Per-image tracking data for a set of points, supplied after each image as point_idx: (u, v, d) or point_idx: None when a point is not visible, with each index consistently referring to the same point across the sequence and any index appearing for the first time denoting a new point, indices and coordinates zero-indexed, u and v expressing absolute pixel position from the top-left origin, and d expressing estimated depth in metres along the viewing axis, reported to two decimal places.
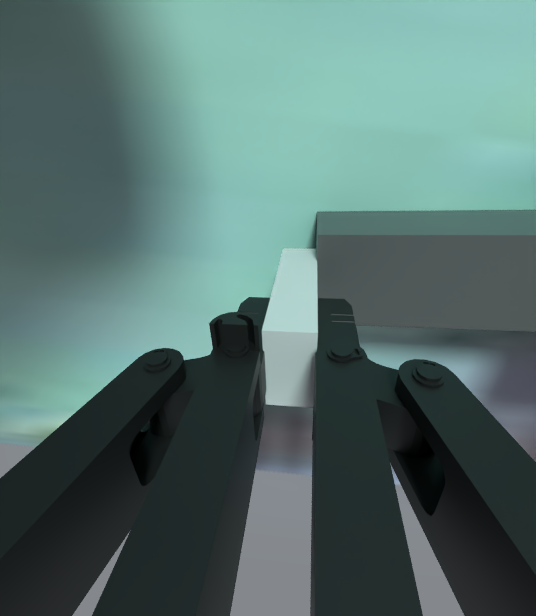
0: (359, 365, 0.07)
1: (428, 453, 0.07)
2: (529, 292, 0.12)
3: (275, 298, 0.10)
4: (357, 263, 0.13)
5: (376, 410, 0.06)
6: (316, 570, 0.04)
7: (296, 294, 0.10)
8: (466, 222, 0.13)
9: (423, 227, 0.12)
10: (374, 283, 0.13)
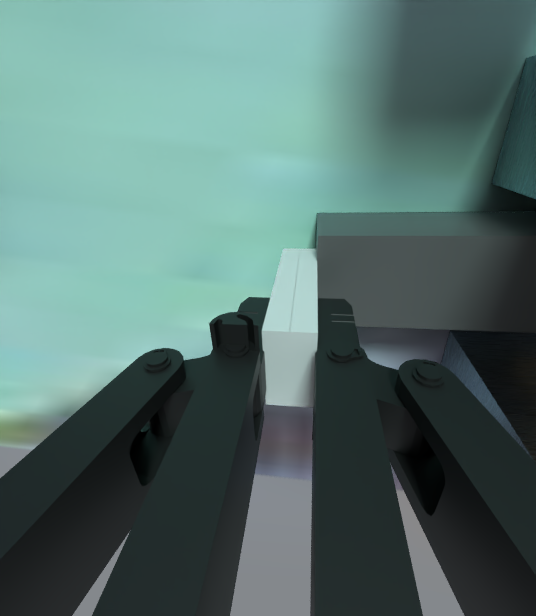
0: (359, 365, 0.07)
1: (428, 453, 0.07)
2: (529, 293, 0.12)
3: (275, 298, 0.10)
4: (357, 264, 0.13)
5: (376, 410, 0.06)
6: (316, 570, 0.04)
7: (296, 294, 0.10)
8: (466, 223, 0.13)
9: (423, 228, 0.12)
10: (374, 284, 0.13)
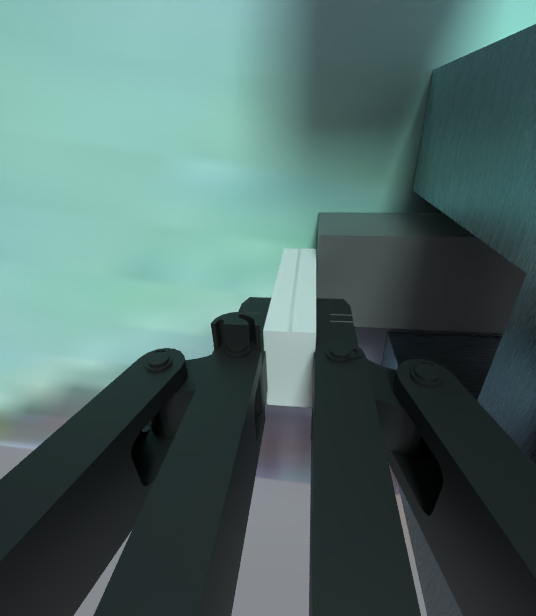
0: (358, 365, 0.07)
1: (426, 453, 0.07)
2: None
3: (276, 298, 0.10)
4: (358, 264, 0.12)
5: (374, 410, 0.06)
6: (315, 570, 0.04)
7: (295, 294, 0.10)
8: None
9: (425, 228, 0.12)
10: (375, 285, 0.13)
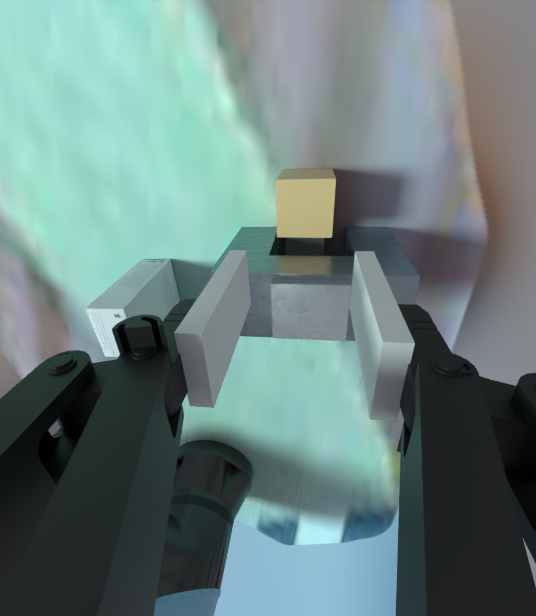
0: (470, 382, 0.07)
1: None
2: (306, 254, 0.34)
3: (201, 300, 0.10)
4: None
5: (492, 434, 0.06)
6: (428, 587, 0.04)
7: (373, 300, 0.10)
8: None
9: None
10: None
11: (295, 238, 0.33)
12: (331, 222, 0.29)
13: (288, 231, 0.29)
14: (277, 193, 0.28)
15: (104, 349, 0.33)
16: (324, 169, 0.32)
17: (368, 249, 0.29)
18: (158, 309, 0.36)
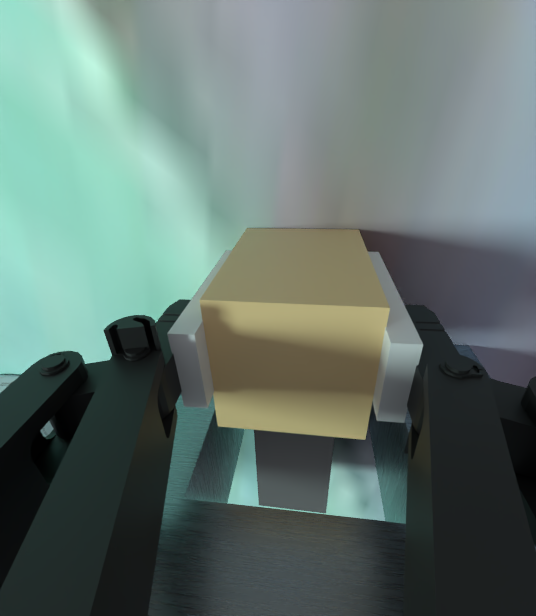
0: (479, 384, 0.07)
1: None
2: None
3: (195, 301, 0.10)
4: (277, 491, 0.19)
5: (502, 437, 0.06)
6: (437, 590, 0.04)
7: None
8: None
9: None
10: (292, 486, 0.18)
11: None
12: (366, 409, 0.10)
13: (246, 417, 0.11)
14: (208, 334, 0.09)
15: None
16: (341, 233, 0.14)
17: None
18: None
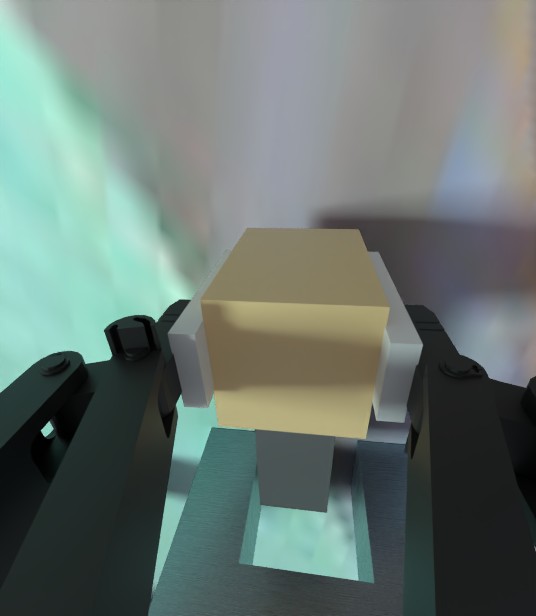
0: (479, 384, 0.07)
1: None
2: None
3: (195, 301, 0.10)
4: (278, 491, 0.19)
5: (502, 437, 0.06)
6: (437, 590, 0.04)
7: None
8: None
9: None
10: (293, 485, 0.18)
11: None
12: (366, 408, 0.10)
13: (247, 417, 0.11)
14: (208, 334, 0.09)
15: None
16: (341, 232, 0.14)
17: (393, 549, 0.19)
18: None
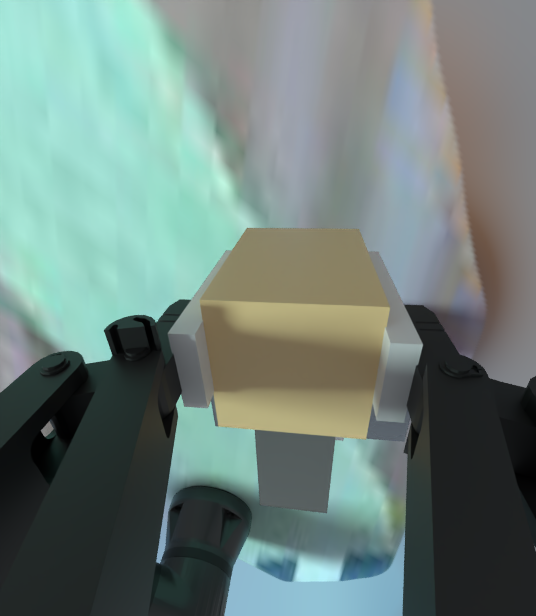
0: (479, 384, 0.07)
1: None
2: None
3: (195, 301, 0.10)
4: (278, 492, 0.19)
5: (502, 436, 0.06)
6: (437, 590, 0.04)
7: None
8: None
9: None
10: (293, 486, 0.18)
11: None
12: (367, 408, 0.10)
13: (247, 417, 0.11)
14: (208, 334, 0.09)
15: None
16: (341, 232, 0.14)
17: None
18: None
